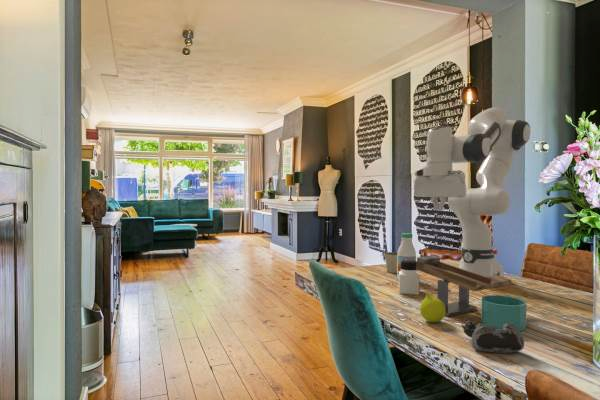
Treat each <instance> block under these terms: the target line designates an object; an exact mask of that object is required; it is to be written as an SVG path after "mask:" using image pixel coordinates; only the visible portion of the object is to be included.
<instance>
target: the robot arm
mask: <svg viewBox="0 0 600 400" xmlns="http://www.w3.org/2000/svg"><path fill="white" fill-rule="evenodd" d="M467 132H468V135H462V136H456V135H454V134H453V132H452V128H451V126H450V125H440V126H435V127H431V128H430V129H429V130H428V132H427V137H426V147H425V148H426V155H427V158H426V161H425V162H426V164H425V166H423V167H421V168H419V169H417V170H415V172H414V176H415V177H416V178H415V179H414V182H413V194H414V197H417V198H420V197H421V198H423V197H424V198H426V197H427V198H430V200H431V202H432V203H431V204H432V205H433V210H434V211H444V206H445V205H446V203H447V206H448V208H449V209H450V211H451V212H453V214H454V215H455V216H456V217H457V219H458V221H459V223H460V226H461V230H462V231H461V233H462V247H461V253H460V254H461V259H459V264H458V265H459V266H458V268H460V269H463V270H466V271H469V272H472V273H475V274H478V275H481V276H484V277H489V276H494V275H498V276H501V277H504V278H507V279H510V278H508V277H505V269H504V266H503V265H502V264H500V263H499V262H498V260H496V259H495V255H498V253H499V251H498V249H497V248H496V249H494V248H492V246H493V245H492V241H493V236H492V235H493V233H492V229H491V228H490V227H489V226H487V224H485V223H484V222H483V221H482V219H481V216H489V217H490V216H493V217H494V216H499V215H501V216H502V215H504V214H506V213H507V212H508V210H509V209H510V206H511V203H512V202H511V197H510V195H509V193H508V192H507V191H506V190H505V189H504V183H505V182H506V178H507V176H508V174H509V173H510V170H511V167H512V165H513V162H514V158H515V153H514V151H516V152H517V151H519V150H520V149H522V147H523V146H525V145H526V144H527V143H528V141H529V140H530V137H531V125H530V124H529V123H528V122H527V121H526V120H521V119H517V120H515V119H513V120H512V119H508V115H507V114H506V112H505V110H503V108H500V107H490V108H486V109H484V110H482V111H481V112H479V113H478V114H476V115H475V116H474V117H472V118H471V119H470V121H469V122H468V125H467ZM460 163H461V164H462V163H466V164H467V163H474V164H475V163H476V164H477V163H478V164H480V163H481V164H480V167H479V168H478V170H477V172H476V176H475V179H476V182H477V183H478V184H479V186H480V187H477V188H467V186H466V174H465V172H464V171H462V170H459V169H458V170H453V164H460ZM438 201H439V203H438ZM497 287H499V286H497ZM497 287H496V288H497Z"/></svg>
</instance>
